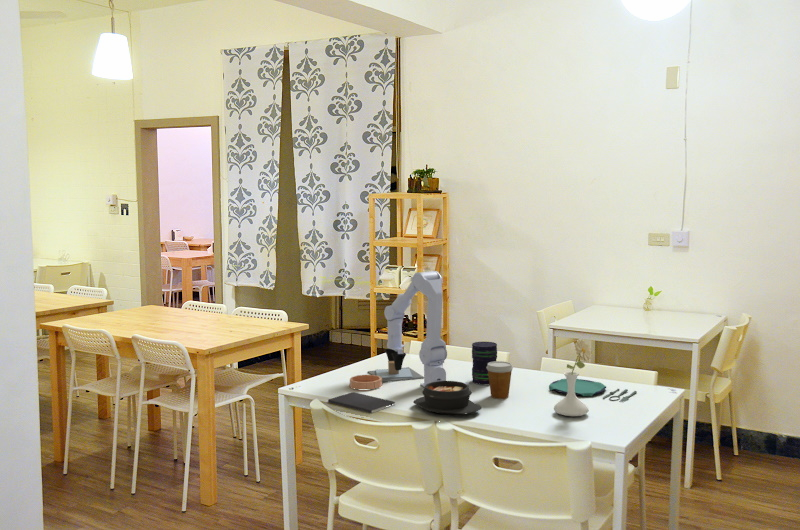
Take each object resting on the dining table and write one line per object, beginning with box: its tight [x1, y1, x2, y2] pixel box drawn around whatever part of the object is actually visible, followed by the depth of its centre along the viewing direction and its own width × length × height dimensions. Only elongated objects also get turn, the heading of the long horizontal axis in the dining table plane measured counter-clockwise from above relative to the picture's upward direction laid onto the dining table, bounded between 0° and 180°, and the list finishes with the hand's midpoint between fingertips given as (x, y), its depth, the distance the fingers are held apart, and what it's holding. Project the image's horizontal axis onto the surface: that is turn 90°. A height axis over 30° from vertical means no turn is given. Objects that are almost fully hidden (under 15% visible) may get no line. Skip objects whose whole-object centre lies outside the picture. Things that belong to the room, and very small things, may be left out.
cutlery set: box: [548, 377, 638, 403], centre depth 274 cm, size 20×30×2 cm, turn 52°
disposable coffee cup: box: [486, 360, 514, 400], centre depth 269 cm, size 10×10×12 cm
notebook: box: [327, 391, 396, 414], centre depth 263 cm, size 13×2×21 cm
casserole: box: [413, 380, 482, 415], centre depth 254 cm, size 25×19×8 cm
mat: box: [367, 366, 424, 383], centre depth 303 cm, size 18×18×1 cm
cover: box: [375, 360, 412, 379], centre depth 303 cm, size 14×14×5 cm
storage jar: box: [471, 341, 498, 386], centre depth 290 cm, size 10×10×15 cm
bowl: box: [349, 374, 383, 390], centre depth 286 cm, size 12×12×3 cm
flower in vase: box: [553, 338, 592, 417], centre depth 246 cm, size 13×11×25 cm
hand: (395, 368), depth 303 cm, fingers open, 7 cm apart
